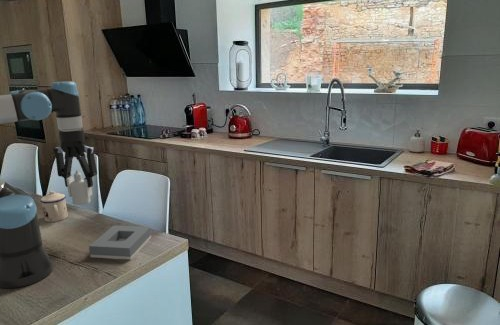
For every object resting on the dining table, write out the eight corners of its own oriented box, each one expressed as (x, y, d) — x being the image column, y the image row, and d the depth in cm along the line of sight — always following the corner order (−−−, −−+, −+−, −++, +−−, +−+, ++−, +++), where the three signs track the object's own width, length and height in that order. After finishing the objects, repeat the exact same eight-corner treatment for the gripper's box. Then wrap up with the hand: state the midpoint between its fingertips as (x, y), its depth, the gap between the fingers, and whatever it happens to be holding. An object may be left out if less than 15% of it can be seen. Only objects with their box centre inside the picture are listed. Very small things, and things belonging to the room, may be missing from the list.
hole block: (130, 259, 122) (129, 248, 121) (90, 257, 124) (88, 246, 123) (151, 237, 137) (150, 227, 136) (115, 235, 140) (113, 225, 139)
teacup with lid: (43, 217, 159) (38, 190, 156) (67, 212, 164) (62, 186, 161) (45, 227, 149) (40, 198, 146) (70, 221, 154) (66, 194, 151)
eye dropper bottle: (81, 200, 136) (76, 167, 133) (92, 202, 134) (87, 169, 131) (71, 204, 133) (65, 170, 130) (82, 206, 130) (76, 172, 127)
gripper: (103, 127, 129) (111, 192, 135) (52, 127, 132) (62, 191, 137) (91, 131, 122) (100, 200, 128) (37, 131, 124) (49, 199, 130)
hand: (80, 195), depth 133 cm, fingers closed on eye dropper bottle, 6 cm apart
